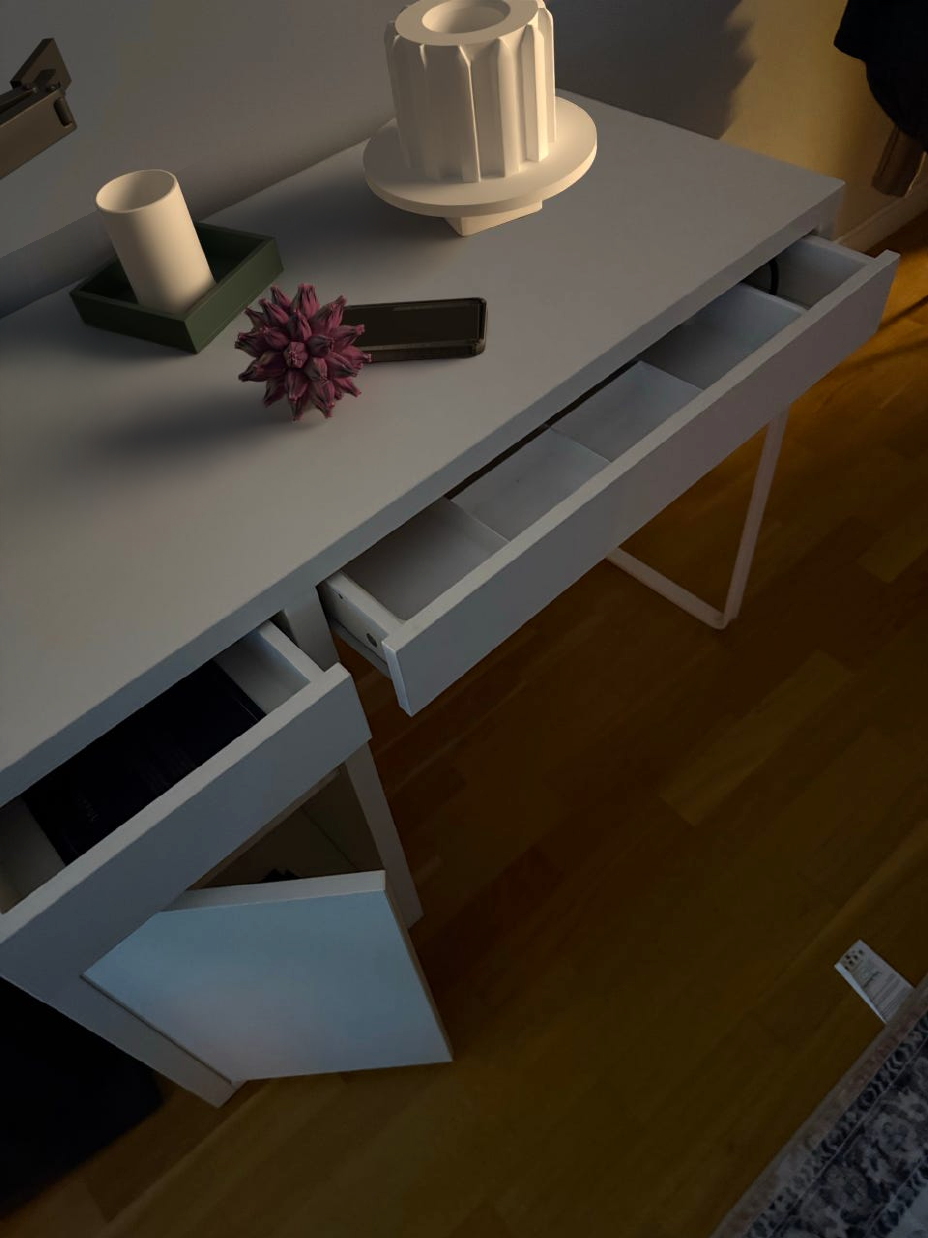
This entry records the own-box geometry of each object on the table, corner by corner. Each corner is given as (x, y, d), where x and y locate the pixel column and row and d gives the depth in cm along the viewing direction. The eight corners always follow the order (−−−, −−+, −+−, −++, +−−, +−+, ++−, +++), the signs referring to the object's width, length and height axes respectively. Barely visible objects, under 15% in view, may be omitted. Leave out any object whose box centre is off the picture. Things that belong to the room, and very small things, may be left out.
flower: (362, 456, 81) (228, 442, 80) (376, 367, 88) (253, 353, 87) (363, 353, 71) (211, 335, 71) (379, 261, 78) (240, 245, 77)
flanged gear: (532, 129, 111) (523, -54, 96) (639, 218, 97) (648, 18, 82) (344, 192, 107) (304, 10, 92) (426, 295, 92) (394, 99, 77)
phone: (483, 345, 84) (326, 353, 86) (484, 355, 85) (329, 363, 87) (487, 295, 89) (338, 304, 91) (488, 305, 90) (341, 314, 92)
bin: (84, 324, 96) (67, 292, 93) (174, 246, 104) (162, 214, 101) (197, 354, 90) (184, 321, 87) (284, 269, 98) (275, 236, 95)
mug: (161, 263, 101) (116, 154, 91) (234, 258, 99) (197, 147, 90) (130, 327, 94) (78, 216, 84) (209, 322, 92) (165, 210, 83)
